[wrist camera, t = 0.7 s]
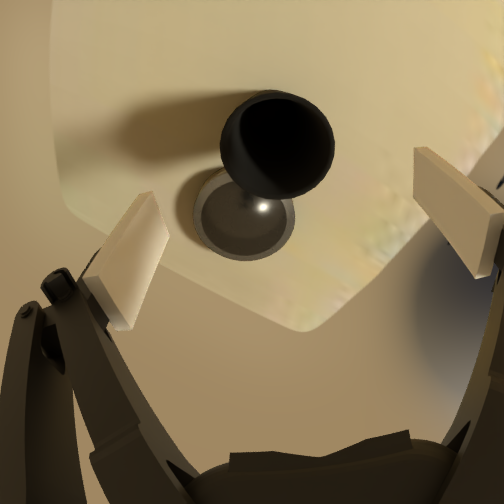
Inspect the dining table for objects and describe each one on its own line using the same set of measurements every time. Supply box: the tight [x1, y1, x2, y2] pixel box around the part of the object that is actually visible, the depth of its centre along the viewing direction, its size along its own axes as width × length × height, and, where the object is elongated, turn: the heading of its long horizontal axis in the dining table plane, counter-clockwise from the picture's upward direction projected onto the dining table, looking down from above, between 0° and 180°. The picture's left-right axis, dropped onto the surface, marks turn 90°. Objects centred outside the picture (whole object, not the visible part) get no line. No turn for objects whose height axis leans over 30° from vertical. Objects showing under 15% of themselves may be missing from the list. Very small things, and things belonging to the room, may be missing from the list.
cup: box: [220, 90, 335, 200], centre depth 25 cm, size 8×8×12 cm
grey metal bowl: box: [193, 168, 295, 261], centre depth 35 cm, size 11×11×3 cm
